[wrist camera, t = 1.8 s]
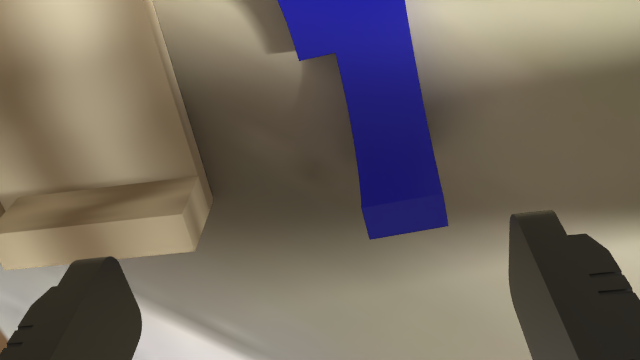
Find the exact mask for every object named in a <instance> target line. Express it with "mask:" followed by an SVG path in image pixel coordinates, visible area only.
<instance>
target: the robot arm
mask: <svg viewBox="0 0 640 360" xmlns="http://www.w3.org/2000/svg"><path fill="white" fill-rule="evenodd" d="M509 286H510V292H511V297H512V302H513V305H514V308H515V311H516V314H517V317H518V319H519V322H520V325H521V328H522V331H523V334H524V336H525V339H526V342H527V345H528V348H529V350H530V353H531V356H532V359H533V360H640V300H639V298H638V297H637V295H636V293H633V291H632V287H631V285H630V284H629V282H628V281H627V279H626V277H625V276H624V275H622V273H621V269H620V268H619V266H618V265H617V263H616V261H615V260H614V258H613V257H612V255H611V253H610V252H609V250H607V249H606V248H605V247H603V246H602V245H601V244H599V243H598V242H597V241H595V240H594V239H592V238H591V237H590V236H588V235H587V234H577V235H567V234H566V232H565V230H564V228H563V226H562V225H561V223H560V221H559V219H558V217H557V216H556V214H555V212H554V211H552V210H548V211H539V212H529V213H520V214H512V215H511V218H510V233H509ZM141 330H142V319H141V313H140V309H139V307H138V304H137V302H136V300H135V298H134V295H133V293H132V291H131V289H130V287H129V284H128V282H127V280H126V278H125V275H124V273H123V271H122V269H121V266H120V264H119V262H118V261H117V259H115V258H114V257H112V256H108V257H98V258H89V259H80V260H75V261H74V262H72V263H71V265H70V266H69V268H68V270H67V271H66V273H65V274H64V276H63V278H62V279H61V281H60V283H59V284H58V286H55V287H51V288H50V289H49V290H48V291H47V292H46V293H45V294H44V295H42V296H41V297H40V298H39V299H38V300H37V301H36V302H35V303H34V304H32V305H31V307H30V308H29V310H28V311H27V313H26V314H25V316H24V318H23V319H22V321H21V322H20V324H19V325H18V331H15V332H14V333H13V335H12V336H11V338H10V339H9V341H8V343H7V348H4V349H3V350H2V352H1V354H0V360H132V358H133V355H134V352H135V350H136V347H137V345H138V342H139V339H140V336H141Z"/></svg>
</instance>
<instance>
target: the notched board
mask: <svg viewBox="0 0 640 360" xmlns="http://www.w3.org/2000/svg"><path fill="white" fill-rule="evenodd" d="M212 203H213V196H212V193H211V190H210V187H209V183H208V180H207V177H206V174H205V170H204V167H203V164H202V161H201V157H200V154H199V151H198V148H197V144H196V141H195V138H194V135H193V132H192V128H191V125H190V122H189V119H188V115H187V112H186V109H185V106H184V102H183V99H182V96H181V93H180V89H179V86H178V83H177V80H176V76H175V73H174V70H173V67H172V63H171V60H170V57H169V54H168V51H167V47H166V44H165V41H164V38H163V34H162V31H161V28H160V25H159V21H158V18H157V15H156V12H155V8H154V5H153V2H152V0H0V263H1V265H2V267H3V268H4V270H14V269H24V268H34V267H44V266H54V265H64V264H71V263H72V262H74V261H75V260H80V259H89V258H98V257H108V256H112V257H114V258H115V259H123V258H133V257H143V256H153V255H163V254H173V253H183V252H193V251H195V250H196V248H197V245H198V242H199V239H200V236H201V234H202V231H203V228H204V225H205V223H206V220H207V217H208V214H209V211H210V209H211V206H212Z"/></svg>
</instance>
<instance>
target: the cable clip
mask: <svg viewBox="0 0 640 360" xmlns="http://www.w3.org/2000/svg"><path fill="white" fill-rule="evenodd" d="M278 3H279V5H280V7H281V9H282V12H283V14H284V17H285V19H286V22H287V25H288V28H289V30H290V33H291V36H292V39H293V42H294V45H295V49H296V52H297V55H298V59H299V61H301V60H306V59H310V58H314V57H319V56H323V55H327V54H332V53H336V57H337V61H338V65H339V69H340V74H341V78H342V83H343V87H344V92H345V97H346V102H347V107H348V112H349V117H350V122H351V128H352V134H353V139H354V146H355V152H356V159H357V166H358V173H359V182H360V192H361V208H362V212H363V216H364V220H365V223H366V227H367V231H368V235H369V239H376V238H382V237H388V236H393V235H399V234H405V233H411V232H416V231H422V230H428V229H434V228H439V227H445V226H448V220H447V214H446V209H445V203H444V197H443V192H442V188H441V184H440V179H439V175H438V171H437V166H436V162H435V157H434V153H433V148H432V144H431V139H430V134H429V129H428V124H427V119H426V115H425V109H424V104H423V99H422V94H421V89H420V84H419V79H418V73H417V68H416V63H415V57H414V52H413V46H412V40H411V35H410V29H409V23H408V17H407V11H406V5H405V0H278Z"/></svg>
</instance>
